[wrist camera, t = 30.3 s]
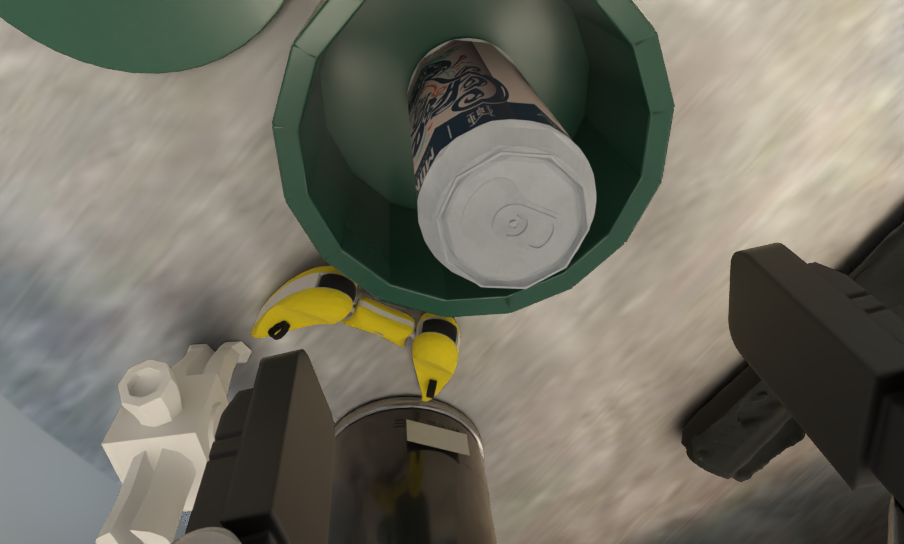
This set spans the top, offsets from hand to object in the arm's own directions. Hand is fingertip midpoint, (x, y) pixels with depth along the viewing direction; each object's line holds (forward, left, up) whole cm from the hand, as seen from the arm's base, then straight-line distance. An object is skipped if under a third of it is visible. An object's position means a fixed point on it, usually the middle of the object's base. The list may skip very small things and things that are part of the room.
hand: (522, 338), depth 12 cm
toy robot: (-16, +7, -17) cm, 24 cm away
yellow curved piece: (-12, 0, -17) cm, 21 cm away
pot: (0, 0, -17) cm, 17 cm away
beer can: (0, -1, -17) cm, 17 cm away
